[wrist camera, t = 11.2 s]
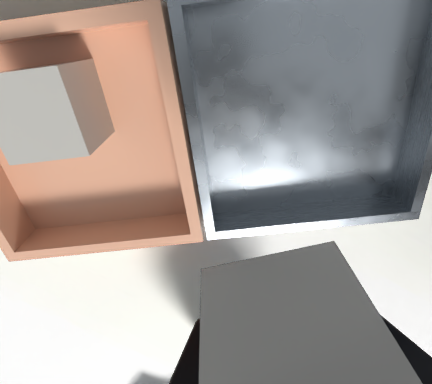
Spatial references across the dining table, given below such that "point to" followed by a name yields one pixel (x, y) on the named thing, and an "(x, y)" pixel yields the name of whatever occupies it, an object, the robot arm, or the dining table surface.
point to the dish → (110, 149)
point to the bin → (306, 111)
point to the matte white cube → (52, 112)
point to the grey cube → (294, 323)
